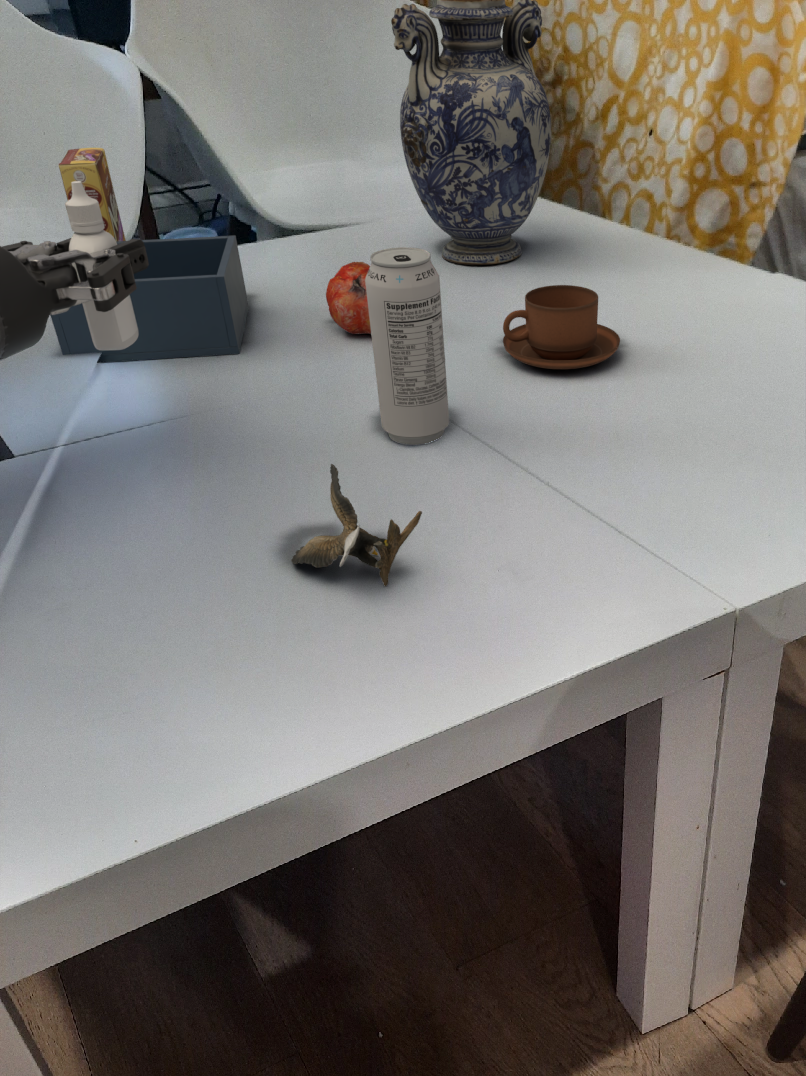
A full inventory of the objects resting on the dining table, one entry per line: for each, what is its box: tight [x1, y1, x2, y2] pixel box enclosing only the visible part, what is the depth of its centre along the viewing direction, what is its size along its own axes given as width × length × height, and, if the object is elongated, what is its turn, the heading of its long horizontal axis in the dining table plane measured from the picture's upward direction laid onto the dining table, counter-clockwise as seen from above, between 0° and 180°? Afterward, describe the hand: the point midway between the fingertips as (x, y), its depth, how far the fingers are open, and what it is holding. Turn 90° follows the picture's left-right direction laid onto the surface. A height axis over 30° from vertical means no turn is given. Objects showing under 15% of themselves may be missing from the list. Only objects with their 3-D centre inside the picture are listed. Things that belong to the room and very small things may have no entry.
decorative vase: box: [390, 0, 552, 266], centre depth 124 cm, size 21×19×28 cm
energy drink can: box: [365, 246, 450, 446], centre depth 86 cm, size 6×6×15 cm
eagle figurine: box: [290, 463, 423, 587], centre depth 71 cm, size 8×7×9 cm
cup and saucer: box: [502, 284, 621, 370], centre depth 102 cm, size 12×12×6 cm
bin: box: [49, 234, 250, 364], centre depth 108 cm, size 18×16×8 cm
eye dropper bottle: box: [64, 181, 139, 350], centre depth 81 cm, size 4×6×12 cm
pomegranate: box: [325, 261, 371, 335], centre depth 109 cm, size 7×7×10 cm
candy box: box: [58, 147, 127, 242], centre depth 116 cm, size 9×4×15 cm, turn 13°
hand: (117, 249), depth 82 cm, fingers closed on eye dropper bottle, 4 cm apart
